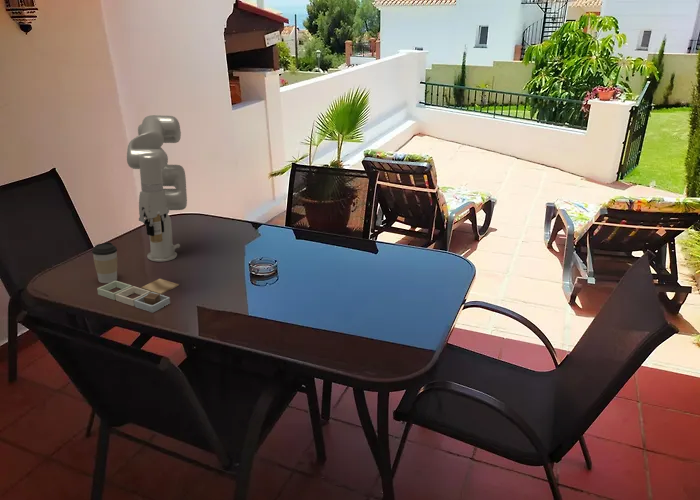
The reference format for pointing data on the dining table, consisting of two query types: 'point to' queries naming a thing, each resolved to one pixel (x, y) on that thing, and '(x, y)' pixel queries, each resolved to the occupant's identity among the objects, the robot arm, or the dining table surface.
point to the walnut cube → (152, 298)
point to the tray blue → (152, 308)
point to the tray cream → (123, 295)
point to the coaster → (160, 286)
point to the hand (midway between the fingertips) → (155, 232)
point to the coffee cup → (105, 262)
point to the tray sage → (105, 289)
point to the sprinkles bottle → (157, 229)
